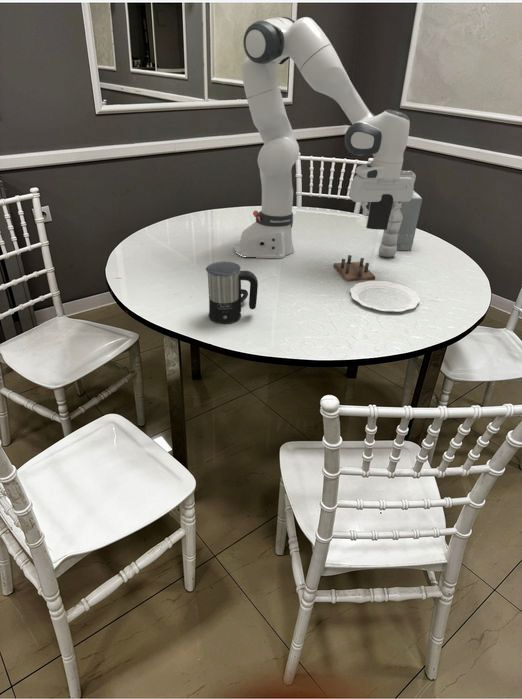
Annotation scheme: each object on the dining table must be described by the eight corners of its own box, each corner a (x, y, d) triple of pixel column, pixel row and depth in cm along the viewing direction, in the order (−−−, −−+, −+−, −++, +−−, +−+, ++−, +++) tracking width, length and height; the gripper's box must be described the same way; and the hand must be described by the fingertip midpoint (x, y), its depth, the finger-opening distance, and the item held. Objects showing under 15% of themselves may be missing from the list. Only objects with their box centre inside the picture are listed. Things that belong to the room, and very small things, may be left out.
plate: (406, 322, 134) (407, 317, 133) (338, 303, 143) (339, 298, 142) (426, 296, 149) (427, 291, 148) (364, 279, 158) (365, 275, 157)
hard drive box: (411, 251, 180) (423, 198, 170) (391, 250, 181) (401, 198, 170) (402, 237, 194) (412, 187, 183) (383, 236, 194) (392, 187, 183)
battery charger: (385, 226, 155) (392, 191, 149) (387, 230, 152) (395, 194, 145) (364, 225, 155) (370, 190, 149) (365, 229, 152) (372, 193, 145)
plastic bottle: (397, 254, 177) (407, 201, 166) (393, 260, 172) (404, 205, 161) (380, 251, 179) (389, 198, 168) (375, 257, 174) (385, 203, 163)
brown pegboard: (346, 281, 155) (348, 269, 153) (333, 266, 166) (334, 254, 164) (374, 279, 157) (376, 268, 155) (360, 264, 168) (362, 253, 165)
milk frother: (213, 327, 128) (212, 276, 120) (197, 301, 140) (195, 254, 132) (261, 318, 133) (263, 269, 125) (242, 294, 145) (242, 248, 137)
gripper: (412, 168, 148) (402, 211, 156) (351, 167, 144) (344, 212, 151) (421, 173, 143) (411, 218, 151) (359, 172, 139) (351, 218, 146)
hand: (377, 215), depth 151 cm, fingers closed on battery charger, 7 cm apart
